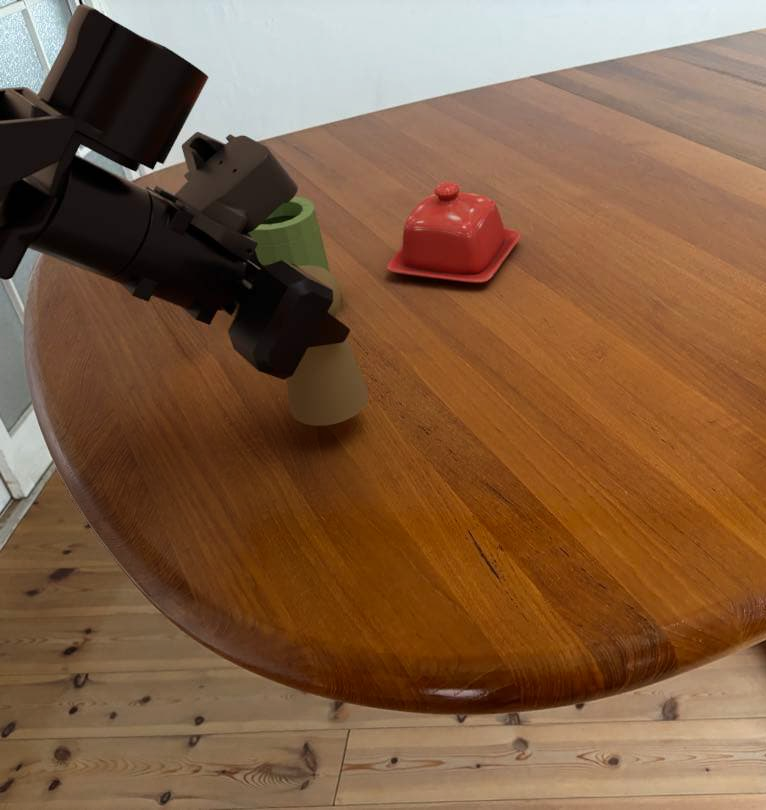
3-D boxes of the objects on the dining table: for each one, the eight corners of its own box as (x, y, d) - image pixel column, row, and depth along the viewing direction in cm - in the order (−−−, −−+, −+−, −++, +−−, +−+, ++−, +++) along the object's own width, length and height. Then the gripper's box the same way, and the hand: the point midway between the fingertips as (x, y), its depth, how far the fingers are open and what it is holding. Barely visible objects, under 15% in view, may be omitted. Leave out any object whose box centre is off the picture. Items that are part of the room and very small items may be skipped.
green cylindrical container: (265, 332, 77) (235, 234, 71) (264, 296, 82) (236, 203, 76) (339, 318, 78) (316, 221, 72) (334, 284, 83) (311, 191, 77)
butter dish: (487, 294, 80) (479, 213, 75) (382, 281, 83) (367, 203, 78) (526, 241, 89) (520, 165, 83) (429, 231, 92) (418, 157, 87)
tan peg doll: (379, 380, 65) (353, 256, 59) (353, 428, 61) (322, 298, 54) (307, 376, 66) (274, 253, 59) (277, 423, 61) (237, 294, 55)
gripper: (261, 148, 41) (458, 267, 54) (130, 78, 53) (317, 190, 65) (159, 339, 42) (376, 414, 55) (51, 230, 54) (251, 312, 66)
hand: (328, 322), depth 60 cm, fingers closed on tan peg doll, 5 cm apart
